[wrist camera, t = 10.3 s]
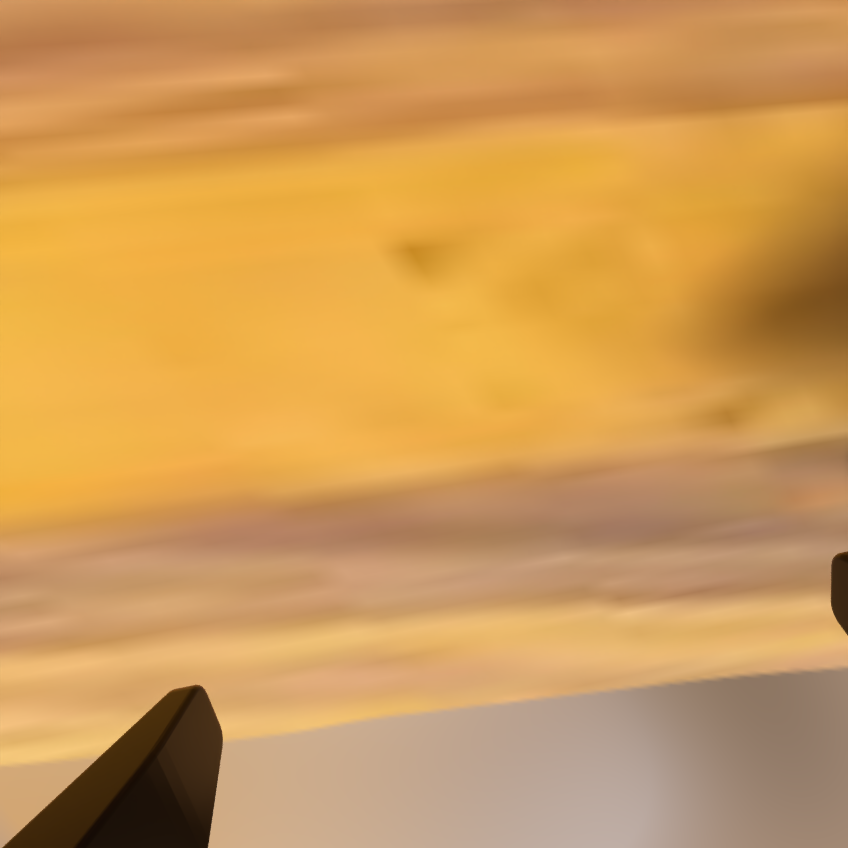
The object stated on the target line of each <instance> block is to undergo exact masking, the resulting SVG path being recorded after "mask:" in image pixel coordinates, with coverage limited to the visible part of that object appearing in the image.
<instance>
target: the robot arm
mask: <svg viewBox="0 0 848 848" xmlns="http://www.w3.org/2000/svg"><path fill="white" fill-rule="evenodd" d="M831 606H832V610H833V613H834V615H835V617H836V619H837V621H838V623H839V624H840V625H841V627H842V628H843V629H844V631H845V632H846V634H847V635H848V552H843V553H839V554H837V555H836V556H835V557H834V558H833V560H832V566H831ZM222 745H223V737H222V730H221V726H220V724H219V721H218V719H217V717H216V714H215V712H214V709H213V707H212V705H211V702H210V700H209V697H208V695H207V693H206V691H205V689H204V688H203V687H202V686H200V685H193V686H188V687H183V688H178V689H174V690H172V691H170V692H169V693H168V694H167V695H166V696H164V697H163V698H162V699H161V700H160V701H159V702H158V703H157V704H156V705H155V706H154V707H153V708H152V709H151V710H149V711H148V712H147V713H146V714H145V715H144V716H143V717H142V718H141V719H140V720H139V721H138V722H137V723H136V724H134V725H133V726H132V727H131V728H130V729H129V730H128V731H127V732H126V733H125V734H124V735H123V736H122V737H121V738H119V739H118V740H117V741H116V742H115V743H114V744H113V745H112V746H111V747H110V748H109V749H108V750H107V751H105V752H104V753H103V754H102V755H101V756H100V757H99V758H98V759H97V760H96V761H95V762H94V763H93V764H92V765H90V766H89V767H88V768H87V769H86V770H85V771H84V772H83V773H82V774H81V775H80V776H79V777H78V778H76V779H75V780H74V781H73V782H72V783H71V784H70V785H69V786H68V787H67V788H66V789H65V790H64V791H63V792H62V793H61V794H59V795H58V796H57V797H56V798H55V799H54V800H53V801H52V802H51V803H50V804H49V805H48V806H46V807H45V809H43V810H42V811H41V812H40V813H39V814H38V815H37V816H36V817H35V818H34V819H32V820H31V821H30V822H29V823H28V824H27V825H26V826H25V827H24V828H23V829H22V830H21V831H20V832H19V833H17V834H16V835H15V836H14V837H13V838H12V839H11V840H10V841H9V842H8V843H7V844H6V845H5V846H4V847H3V848H208V843H209V836H210V830H211V823H212V816H213V809H214V802H215V795H216V788H217V781H218V774H219V766H220V760H221V753H222Z"/></svg>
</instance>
